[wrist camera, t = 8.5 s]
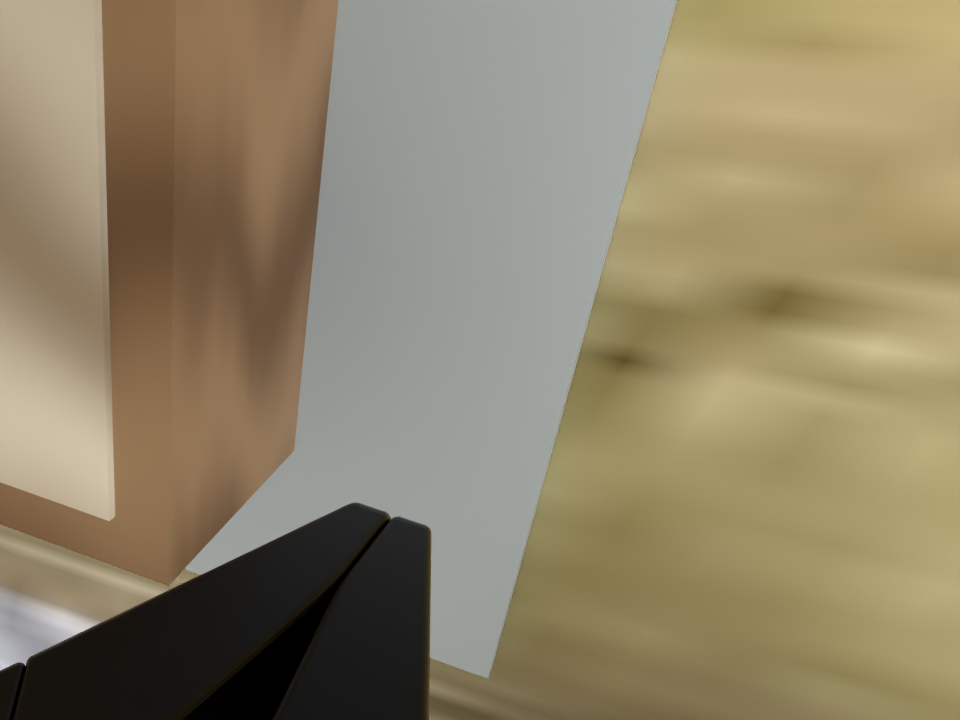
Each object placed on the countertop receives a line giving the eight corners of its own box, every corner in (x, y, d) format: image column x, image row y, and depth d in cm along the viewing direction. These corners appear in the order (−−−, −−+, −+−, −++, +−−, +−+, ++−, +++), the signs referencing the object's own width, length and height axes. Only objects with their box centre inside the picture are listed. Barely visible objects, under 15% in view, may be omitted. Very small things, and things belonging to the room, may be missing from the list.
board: (495, 656, 21) (488, 678, 21) (-75, 453, 24) (-98, 467, 23) (800, -441, 11) (805, -470, 11) (-234, -573, 14) (-284, -603, 13)
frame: (293, 450, 19) (163, 591, 15) (76, 379, 20) (-110, 490, 16) (350, -122, 14) (171, -180, 9) (49, -183, 15) (-249, -264, 10)
